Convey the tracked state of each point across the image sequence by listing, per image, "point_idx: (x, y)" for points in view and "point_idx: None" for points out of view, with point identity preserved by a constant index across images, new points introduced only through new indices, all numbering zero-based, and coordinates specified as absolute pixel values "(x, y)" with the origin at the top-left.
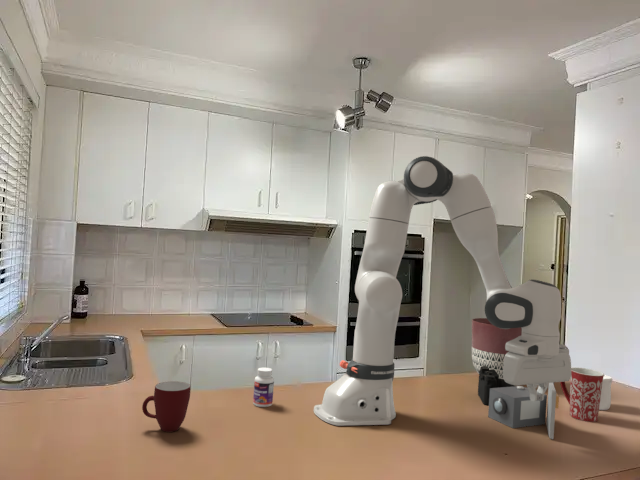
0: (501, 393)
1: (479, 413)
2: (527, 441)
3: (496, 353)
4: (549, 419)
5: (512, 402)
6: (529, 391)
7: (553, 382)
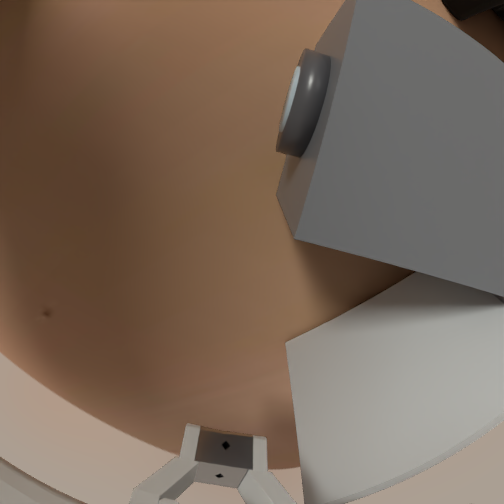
0: (335, 88)
1: (321, 2)
2: (188, 307)
3: None
4: (344, 357)
5: (293, 210)
6: (168, 463)
7: None
